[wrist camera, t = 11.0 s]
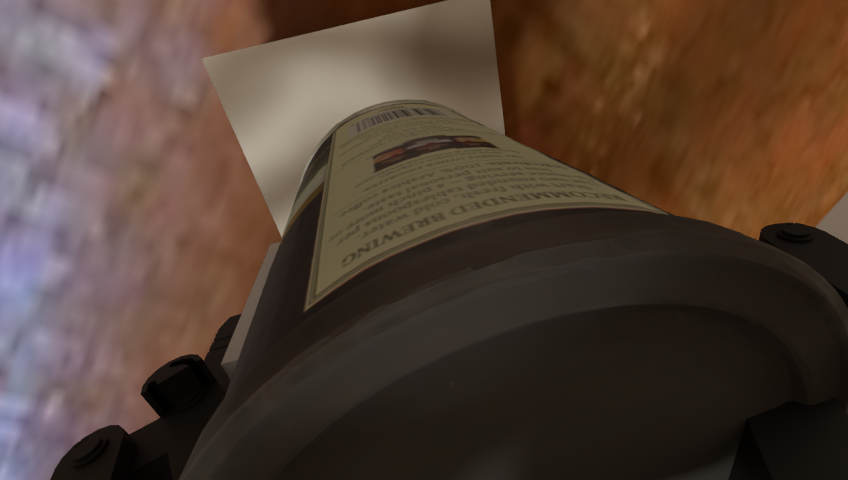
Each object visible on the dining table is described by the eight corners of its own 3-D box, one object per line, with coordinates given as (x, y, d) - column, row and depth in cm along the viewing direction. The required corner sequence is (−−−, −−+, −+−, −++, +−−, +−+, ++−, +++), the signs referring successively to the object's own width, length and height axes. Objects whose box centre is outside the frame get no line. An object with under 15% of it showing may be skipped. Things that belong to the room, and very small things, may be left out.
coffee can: (387, 330, 21) (446, 729, 8) (247, 191, 16) (-89, 630, 4) (541, 225, 20) (872, 505, 7) (438, 45, 15) (876, -34, 3)
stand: (492, 212, 37) (516, 238, 31) (314, 263, 35) (309, 298, 30) (462, 3, 28) (489, -10, 23) (229, 59, 27) (201, 58, 22)
